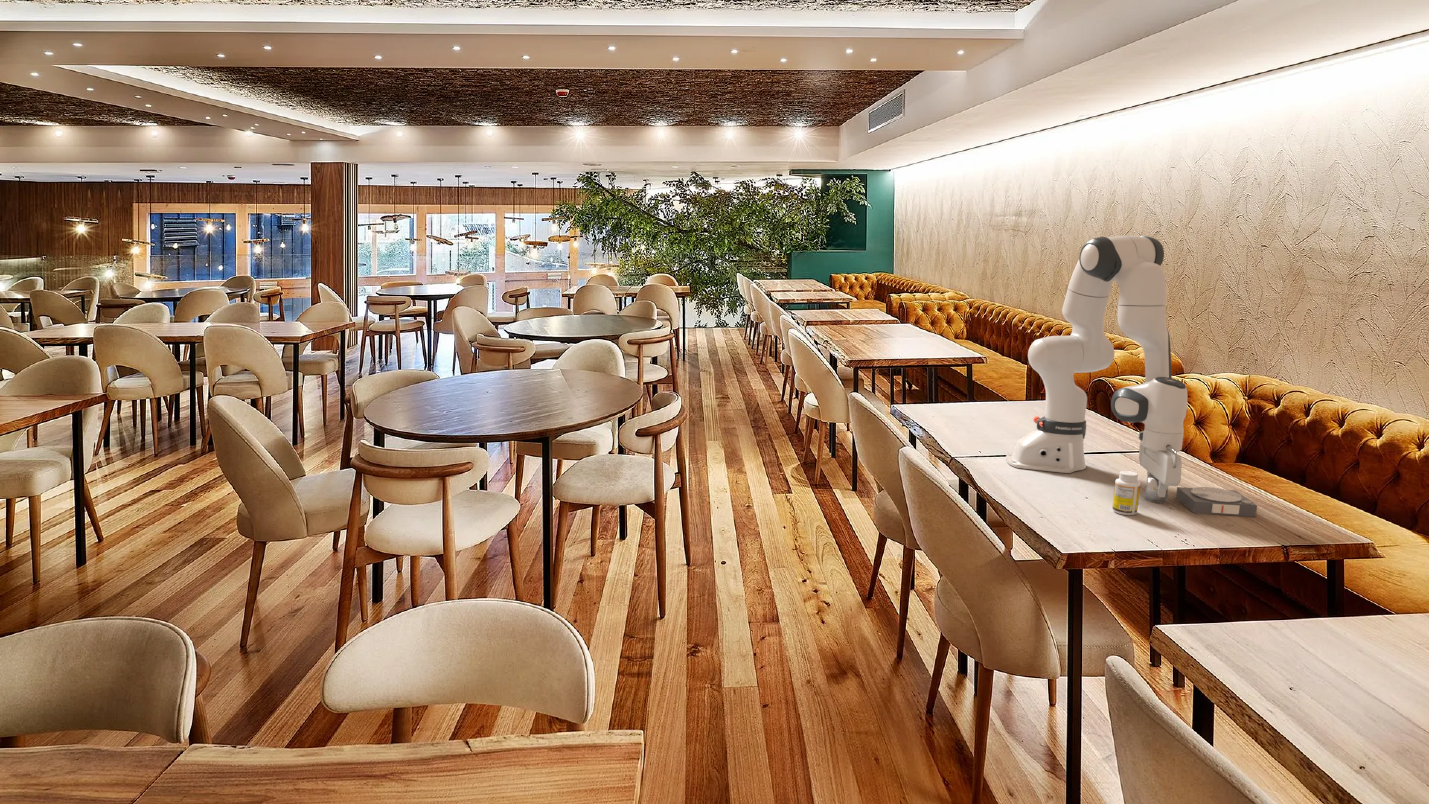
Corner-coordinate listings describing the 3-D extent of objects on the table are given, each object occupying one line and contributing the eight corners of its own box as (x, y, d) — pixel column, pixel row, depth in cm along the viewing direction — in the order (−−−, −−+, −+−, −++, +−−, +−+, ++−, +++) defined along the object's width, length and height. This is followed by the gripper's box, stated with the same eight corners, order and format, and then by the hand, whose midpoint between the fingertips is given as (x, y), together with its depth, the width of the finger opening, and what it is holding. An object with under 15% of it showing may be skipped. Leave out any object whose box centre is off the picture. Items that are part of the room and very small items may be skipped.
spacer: (1148, 502, 210) (1151, 480, 208) (1141, 496, 215) (1144, 474, 213) (1169, 503, 209) (1172, 481, 208) (1162, 497, 214) (1165, 475, 212)
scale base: (1194, 513, 201) (1196, 501, 201) (1175, 497, 214) (1177, 485, 213) (1256, 517, 199) (1258, 504, 198) (1234, 501, 211) (1235, 489, 210)
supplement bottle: (1126, 508, 205) (1131, 469, 203) (1141, 515, 200) (1146, 475, 198) (1107, 509, 204) (1111, 470, 202) (1121, 516, 199) (1126, 476, 197)
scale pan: (1201, 501, 202) (1201, 498, 201) (1184, 487, 212) (1184, 485, 212) (1249, 504, 200) (1249, 501, 200) (1230, 490, 210) (1230, 488, 210)
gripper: (1191, 452, 198) (1184, 505, 201) (1162, 432, 218) (1155, 481, 220) (1163, 450, 199) (1157, 504, 202) (1136, 431, 219) (1131, 480, 222)
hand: (1156, 492), depth 211 cm, fingers closed on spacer, 5 cm apart
